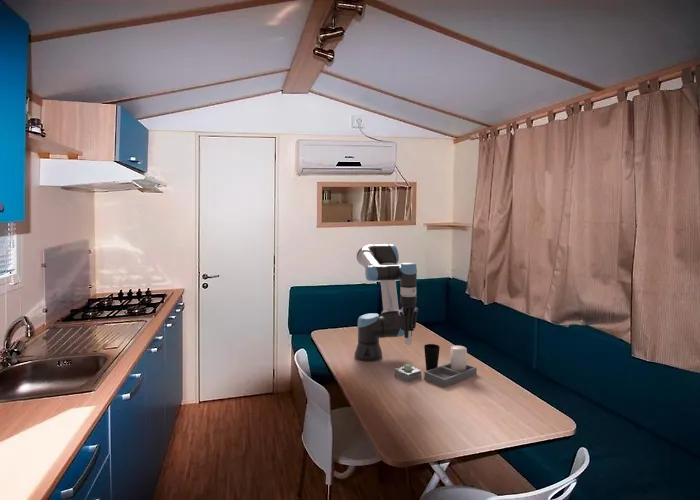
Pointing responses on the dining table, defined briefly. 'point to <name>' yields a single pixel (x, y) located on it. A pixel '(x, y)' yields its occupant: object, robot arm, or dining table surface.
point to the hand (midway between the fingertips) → (408, 343)
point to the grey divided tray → (448, 375)
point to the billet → (458, 358)
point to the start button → (407, 367)
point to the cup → (431, 356)
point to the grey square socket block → (407, 374)
